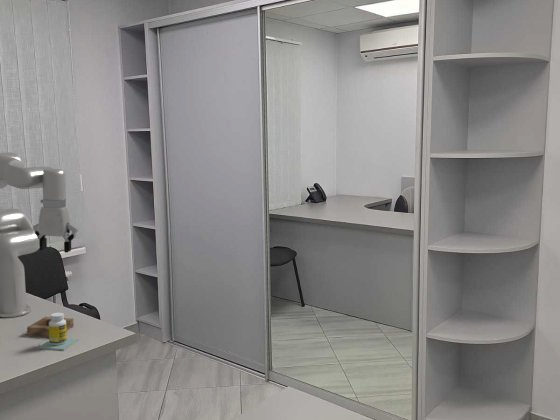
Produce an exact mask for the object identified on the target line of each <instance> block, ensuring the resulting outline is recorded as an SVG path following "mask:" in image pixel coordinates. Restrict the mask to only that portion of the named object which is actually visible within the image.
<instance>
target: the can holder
mask: <svg viewBox="0 0 560 420" xmlns="http://www.w3.org/2000/svg"><path fill="white" fill-rule="evenodd" d="M63 319H64V320H65V321H66V332H68V331H69V330H71V329H72V328H73V326H74V325H75V323H74V318H71V317H70V318H68V317H64V318H63ZM50 321H51V316H44V317H42V318H41V319H39V320H37V321H35V322H34V323H32V324H31V325H29V326H27V328H26V329H27V336H31V337H44V338H45V337H46V338H47V337H48V338H49V322H50ZM70 328H71V329H70ZM67 330H68V331H67Z"/></svg>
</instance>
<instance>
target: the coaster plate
mask: <svg viewBox="0 0 560 420" xmlns="http://www.w3.org/2000/svg"><path fill="white" fill-rule="evenodd" d="M77 342H79V338H70V337H67V341H66V343H64V344H61V345H51V344H50V343H49V340H47V341H46V342H44V343H42V344H40V345H39V346H38V349H40V350H53V351H66V350H67V349H68V348H70V347H71V346H72V345H74V344H75V343H77Z"/></svg>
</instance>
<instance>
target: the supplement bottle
mask: <svg viewBox="0 0 560 420" xmlns="http://www.w3.org/2000/svg"><path fill="white" fill-rule="evenodd" d="M50 317H51V321H50V322H49V337H48V339H49V340H48V341H49V343H50V344H51V345H61V344H64V343H66V341H67V338H68V336H67V335H68V334H67V333H68V332H67V331H66V321H65V320H64V319H63V318H65V314H64V312H53V313H51V314H50Z"/></svg>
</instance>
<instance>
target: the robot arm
mask: <svg viewBox="0 0 560 420" xmlns="http://www.w3.org/2000/svg"><path fill="white" fill-rule="evenodd" d="M66 181H67V180H66V172H65V170H64V169H59V168H53V167H50V166H32V167H31V166H30V167H24V164H23V161H22V158H21V157H20V156H19V155H18V154H17V153H15V152H0V190H1V189H3V188H6V187H7V186H10V187H12V188H13V187H14V188H17V189H20V190H31V189H39V188H40V189H41V188H42V199H40V204H42V206H41V208H40V209H39V216H38V223H36V224H35V225H33V224H32V222H31V221H30V219H29V218H28V216H27V215H26V213H25V212H24V211H22V210H21V209H19V208H7V209H6V208H5V209H4V208H1V207H0V318H16V317H20V316H24V315H27V314H29V313H30V312H31V311H32V307H31V306H29V305H27V293H26V291H27V290H26V275H25V266H24V264H23V262H22V261H21V260H20V259H19V257H21V256H23V255H28V254H33V253H35V252H37V251H39V250H40V251H43V250H46V249H48V241H47V240H48V239H47V236H48V237H59V238H60V237H62V238H63V239H64V240H65V241H64V242H63V246H64V247H63V253H67V254H68V252H71V251H72V241H73V239H74V238H76V236H77V233H78V231H79V230H78V228H76V227H74V225H71V221H70V219H71V218H70V213H69V209H68V207H67V191H66V190H67V189H66V183H67V182H66Z"/></svg>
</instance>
